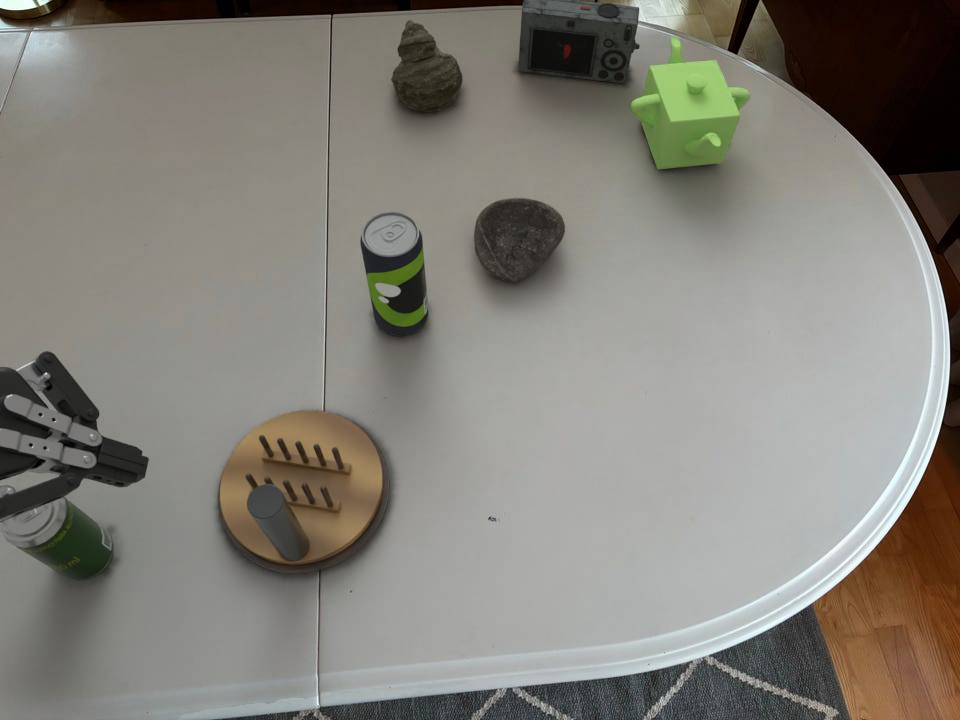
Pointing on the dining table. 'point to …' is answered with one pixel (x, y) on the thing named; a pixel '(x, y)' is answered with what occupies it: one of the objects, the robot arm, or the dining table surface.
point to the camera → (578, 39)
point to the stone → (516, 237)
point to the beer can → (61, 539)
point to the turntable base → (333, 559)
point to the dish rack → (301, 487)
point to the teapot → (688, 111)
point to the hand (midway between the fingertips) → (142, 470)
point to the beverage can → (395, 272)
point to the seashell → (424, 71)
